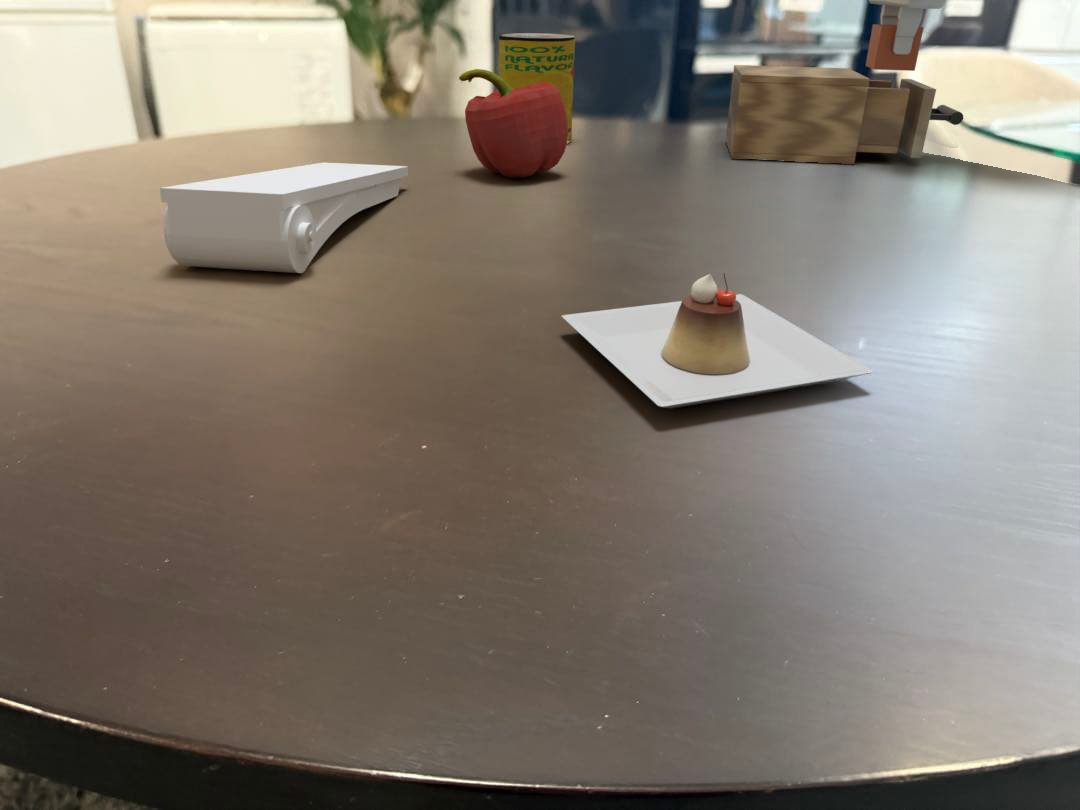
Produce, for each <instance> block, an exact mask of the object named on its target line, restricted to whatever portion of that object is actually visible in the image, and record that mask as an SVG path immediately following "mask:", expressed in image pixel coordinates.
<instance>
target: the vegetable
mask: <svg viewBox="0 0 1080 810" xmlns="http://www.w3.org/2000/svg"><path fill="white" fill-rule="evenodd" d="M475 78H477V79H478V78H480V79H483V80H486V81H487V82H490V84H492V85H493V86H494V87H495V88H496V90H494V91H493V92H491V93H490V94H488V95H486V96H483V95H482V96H481V95H475V96H474V97H472V98H471V99H469V100H468V101H467V105H466V107H465V109H464V116H465V119H464V120H465V124H466V128H467V132H468V137H469V139H470V143H471V146H472V150H473V152H474V154H475V156H476V158H477V160H478V161H479V163H480V164H481V165H482V166H483V168H485V169H487V170H489V171H491V172H493V173H500V174H501V175H502V176H504V177H508V178H527V177H530V176H532V175H534V174H536V173H537V172H541V171H542V172H543V171H550V170H551V169H553V168H554V167H556V165H558V164H559V162H560V161H561V159H562V158H563V156H564V154H565V152H566V148H567V145H568V144H567V136H568V122H567V116H566V110H565V106H564V102H563V99H562V96H561V94H560V92H559V91H558V89H557V88H556V87H555V86H554V85H552V84H550V83H548V82H546V81H543V82H539V83H536V84H531V85H528V86H525V87H516V88H514V89H512V88H511V87H510V86H509V85H508V84H507V83H506V82H505V81H504V80H503V79H502V78H501V77H500V76H499V74H497V73H495V72H492V71H490V70H487V69H479V68H475V69H470V70H467V71H464V72H462V74H461V75H459V77H458V79H459V80H460V82H466V81H468V83H471V82H472V80H473V79H475ZM566 144H567V145H566Z"/></svg>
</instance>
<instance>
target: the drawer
mask: <svg viewBox="0 0 1080 810" xmlns="http://www.w3.org/2000/svg"><path fill="white" fill-rule="evenodd" d="M892 85H893V81H892V80H881V79H880V80H877V79H870V81H869V86H868V92H867V97H866V103H865V108H864V113H863V119H862V124H861V130H860V135H859V140H858V146H857V151H856V153H875V154H876V153H878V154H897V153H898V150H899V151H900V152H902V153H903V154H904V155H905V156H907V157H908V158H910V159H922V155H923V152H924V147H925V142H926V139H927V133H928V130H929V129H928V128H929V124H930V121H944V122H947V123H949V124H951V125H954V126H958V125H959V124H961V123H962V122H963V120H964V114H963V112H961V111H959V110H956V109H955V108H952V107H950V106H948V105H946V104H940V105H938V106H937V107H933V106H934V102H935V98H936V92H937V88H934V87H931V86H929V85H927V84H924V83H922V82H919V81H917V80H915V79H913V78H901V79H900V83H899V88H898V87H895V88H894V87H892Z"/></svg>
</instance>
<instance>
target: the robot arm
mask: <svg viewBox="0 0 1080 810" xmlns="http://www.w3.org/2000/svg"><path fill="white" fill-rule="evenodd" d="M946 2H947V0H868V3H869V4H871V5H880V6H881V12H880V24H882V25H897V29H896V34H895V36H893V40H892V46H891V52H892V53H894V54H905V55H906V54H909V53H910V51H911V48H912V43H913V38H914V36H915V33H916V31H917V29H918V27H919V26H920V24H921V22H922V18H923V15H924V10H940V9H943V7H944V5H945V3H946Z"/></svg>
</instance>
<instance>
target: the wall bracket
mask: <svg viewBox="0 0 1080 810" xmlns="http://www.w3.org/2000/svg"><path fill="white" fill-rule="evenodd" d="M407 177H409V166H408V165H407V166H406V165H388V164H387V165H385V164H366V163H365V164H364V163H363V164H362V163H345V162H344V163H342V162H324V161H323V162H317V163H311V164H305V165H298V166H292V167H286V168H279V169H273V170H267V171H266V170H265V171H260V172H259V171H258V172H254V173H247V174H241V175H235V176H229V177H221V178H214V179H209V180H208V179H207V180H202V181H196V182H189V183H182V184H176V185H170V186H169V185H168V186H162V187H159V191H160V200H161V203H164V204H165V203H166V205H167V206H166V208H165V210H164V214H163V219H162V230H163V231H162V232H163V238H164V242H165V246H166V248H167V251H168V252H169V254H170V256H171V258H172V259H173V260H174V261H175V262H176V263H177V264H178V265H180V266H182V267H194V268H196V267H197V268H208V269H209V268H212V269H227V270H243V271H259V272H273V273H290V274H291V273H292V274H304V273H305V272H306V270H307V268H308V267H309V265H310V264H311V262H312V260H313V259H314V257H315V256H316V255H317V253H318V251H319V250H320V249H321V248H322V246H323V245H324V244H325V242H326V241H327V240H328V239H329V238H330V237H331V235H332V234H333V233H334V232H335V231H336V230H337V229H338V228H339V227H340V226H341V225H343V223H345V222H346V221H347V220H349V219H350V218H351V217H353V216H354V215H356V214H357V213H359V212H361V211H363V210H366V209H368V208H372V207H373V206H375V205H378V204H380V203H383V202H385V201H387V200H390V199H393V198H395V197H398V196H399V192H400V189H401V182H402V179H404V178H407Z"/></svg>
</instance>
